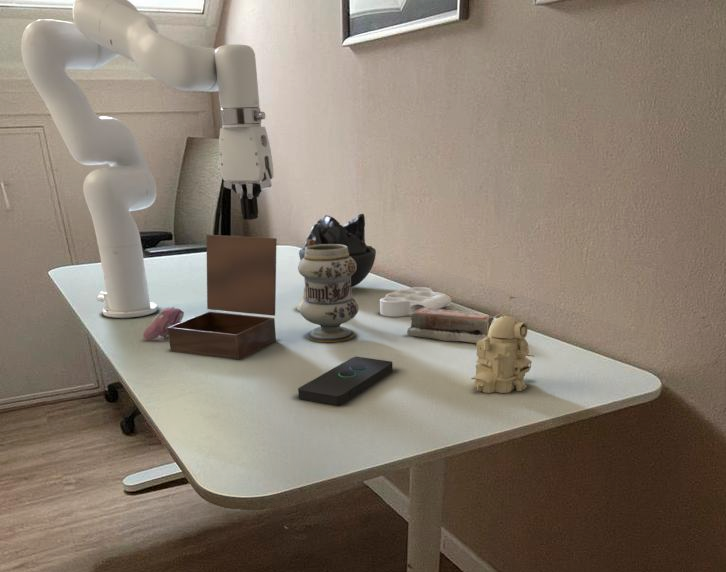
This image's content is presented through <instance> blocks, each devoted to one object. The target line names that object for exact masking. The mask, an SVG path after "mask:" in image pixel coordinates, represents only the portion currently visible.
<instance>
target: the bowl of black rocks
mask: <svg viewBox="0 0 726 572" xmlns="http://www.w3.org/2000/svg"><path fill="white" fill-rule="evenodd" d="M365 217H366V216H365V214H364V213H360V214H358V215H357V217H356V218H352V219H351V221H347V222H346V223H345V224H344V225H342V224H340V222H339V221H338V220H337V219H335V217H333V216H330V215H327V214H326V215H324V216H323V217H322V218H320V219H319V220H317V222H316V223H315V224H314V225H312V226H311V229H310V234H308V235H307V237H306V239H305V243H304V246H303V247H302V248H301V249H299V250H298V255H299V262H300V261H301V260H302V259H303V258H304V255H305V248H306V247H307V245H308V241H309V239H314V242H315V245H321V244H340V245H345V246H347V247H348V253H349V256H350V257H352V258H353V259H354V260H355V262H356V264H357V269H356V271H355V273H354V274H353V275H352V276H351V288H353V287H355V286H357V285H359V284H360V283H362V281H364V280H365V279H366V278H367V277H368V276H369V274H370V272H371V270H372V269H373V266H374V263H375V261H376V255H377V250H376V248H374V247H373V246H371V245H367V244H366V239H365V237H366V236H365V235H366V234H365V233H366V229H365V226H366V219H365Z"/></svg>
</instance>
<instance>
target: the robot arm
mask: <svg viewBox="0 0 726 572" xmlns="http://www.w3.org/2000/svg"><path fill="white" fill-rule="evenodd" d="M71 16H72V19H73V21H74V22H73V21H66V20H58V19H49V18H47V19H45V18H44V19H38V20H34V21H32V22H30V23H28V25H27V26H26V27H25V29H24V31H23V33H22V36H21V43H20V49H21V50H20V52H21V53H20V54H21V59H22V63H23V66H24V69H25V72H26V74H27V76H28V78H29V80H30V81H31V83H32V85H33V86H34V88H35V90H36V92H37V93H38V94H39V96H40V98H41V100H42V101H43V103H44V104H45V106H46V108H47V110H48V112H49V114H50V116H51V119H52V120H53V122H54V125H55V126H56V128H57V130H58V132H59V134H60V136H61V138H62V140H63V142H64V144H65V146H66V148H67V150H68V152H69V154H70V156H71V157H72V158H73V159H74V161H76V162H77V163H78V164H80V165H83V166H100V165H108V166H106V167H99V168H96V169H93V170H92V171H91V172H90V173H87V175H86V177H85V179H84V181H83V187H82V192H83V196H84V200H85V203H86V206H87V208H88V210H89V213H90V216H91V220H92V223H93V228H94V232H95V237H96V243H97V247H98V253H99V259H100V265H101V270H102V276H103V281H104V288H105V291H100V292H99V294H98V295H97V296H96V300H97V302H102V303H103V302H104V306H103V308H102V314H103V315H104V316H106V317H109V318H116V319H128V318H139V317H144V316H148V315H149V316H150V315H151V314H154V313H156V312H157V311H158V310H159V308H158V304H157V303H155V302H152V301H151V299H150V293H149V286H148V279H147V271H146V267H145V261H144V260H145V257H144V253H143V245H142V241H141V234H140V231H139V230H140V229H139V227H138V225H137V223H136V221H135V220H134V218H133V215H132V214H131V212H134V211H141V210H144V209H147V208H149V207H151V206H152V205H153V204H154V203H155V201H156V198H157V193H158V192H157V191H158V190H157V183H156V180H155V178H154V176H153V173H152V170H151V169H150V167H149V164H148V162H147V160H146V158H145V155H144V154H143V152H142V150H141V147H140V145H139V143H138V141H137V140H136V138H135V136H134V134H133V132H132V131H131V129H130V128H129V126H128V125H127V124H126V123H124V122H123V121H122V120H121V119H118V118H115V117H111V116H98V115H97V113H96V112H95V111H94V109H93V107H92V106H91V104H90V102H89V100H88V97H87V95H86V93H85V91H84V90H83V89H82V87H81V86H80V85H79V84H78V83H77V81H76V80H75V79H73V78H72V76H70V75H69V73H68V72H67V70H66V69H69V70H70V69H71V70H85V71H92V70H96V69H99V68H103V66H105V65H106V64H108V63H110V62H111V61H113V60H114V59H116V58H117V57H119V56H122V57H123V58H125V59H128V60H129V61H131V62H134V63H135V64H136V65H137V67H138V68H139V69H140V70H141V71H142V72H143V73H145V74H147V76H150V77H151V78H152V79H155V80H157V81H160V82H162V83H164V84H166V85H168V86H170V87H172V88H174V89H177V90H180V91H186V92H202V93H203V92H204V93H214V92H218V97H219V98H218V99H219V106H220V107H219V108H220V116H221V117H220V118H221V127H220V129H219V138H218V140H219V141H218V151H219V152H218V154H219V167H220V168H219V169H220V175H221V178H222V180H223V187H224V188H225V189H229V190H232V191H233V192H234V193H235V194H236V196H237V199H239V200H240V209H241V214H242V220H245V221H246V220H248V221H249V220H250V221H252V220H255V219H258V218H259V216H258V214H259V205H258V198H259V197H260V194H261V192H263V190H266V189H270V188H271V187H272V184H273V183H272V179H273V178H274V165H273V164H274V163H273V156H272V150H271V144H270V139H269V136H268V132H267V128H266V126H262V120H266V112H265V111H261V108H260V97H259V85H258V84H259V83H258V73H257V62H256V61H257V60H256V53H255V50H254V49H253V47H251V46H250V45H247V44H224V45H220V46H218V47H217V48H214V47H207V46H201V45H193V44H185V43H182V42H178V41H176V40H173V39H172V38H170V37H168V36H165V35H164V34H161V33H159V29H158V27H157V24H156V22H155V21H154V19H152V18H151V17H150V16H148V15H146V14H144V13H142V12H140V11H139V10H138V8H137V7H136V5H134V4H133V3H132V2H131V1H129V0H75V1H74V3H73V5H72V12H71Z"/></svg>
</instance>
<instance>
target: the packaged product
mask: <svg viewBox="0 0 726 572" xmlns="http://www.w3.org/2000/svg"><path fill="white" fill-rule="evenodd" d="M488 315H489V318H488ZM491 317H493V318H491ZM494 318H495V317H494V316H493V315H491V314H484V313H483V314H482V313H476V312H467V311H460V310H459V311H458V310H450V309H443V308H440V309H435V308H423V307H422V308H421V309H419V310H417V311H415V312H414V313H413V314H411V316H410V320H411V322H410V327H407V330H406V335H407V336H411V337H421V338H428V339H435V340H440V341H444V342H445V341H446V342H463V343H472V344H477V342H478V341H479V340H482V339H484V338H485V337H487V324H488V332H489V328H490V326H491V324H492V323H493V322H494V320H495V319H494Z"/></svg>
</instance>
